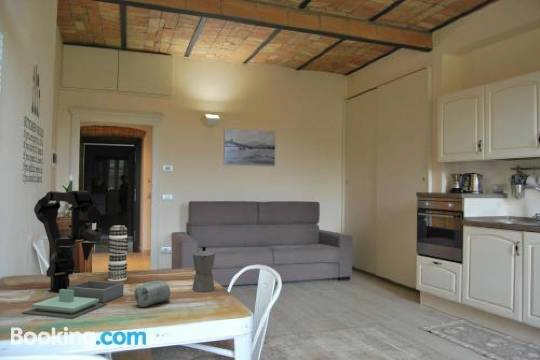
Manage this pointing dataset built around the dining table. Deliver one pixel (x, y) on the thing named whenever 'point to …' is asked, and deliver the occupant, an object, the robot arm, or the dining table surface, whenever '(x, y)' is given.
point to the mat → (63, 315)
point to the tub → (98, 290)
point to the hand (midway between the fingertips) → (78, 261)
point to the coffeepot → (203, 271)
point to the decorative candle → (117, 253)
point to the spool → (152, 293)
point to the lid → (65, 302)
